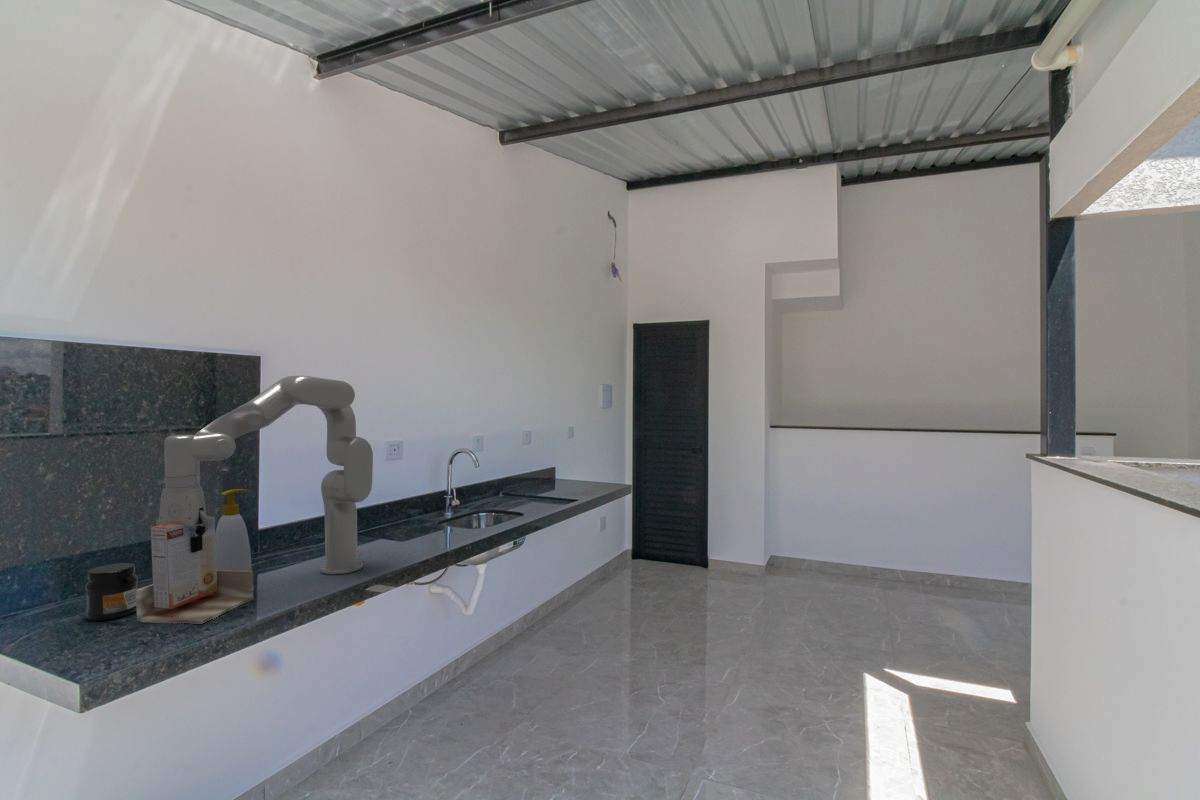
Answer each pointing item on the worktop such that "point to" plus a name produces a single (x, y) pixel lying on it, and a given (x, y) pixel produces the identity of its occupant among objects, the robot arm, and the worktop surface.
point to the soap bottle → (232, 537)
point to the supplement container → (111, 592)
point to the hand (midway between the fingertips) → (184, 550)
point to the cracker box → (182, 565)
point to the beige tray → (199, 601)
